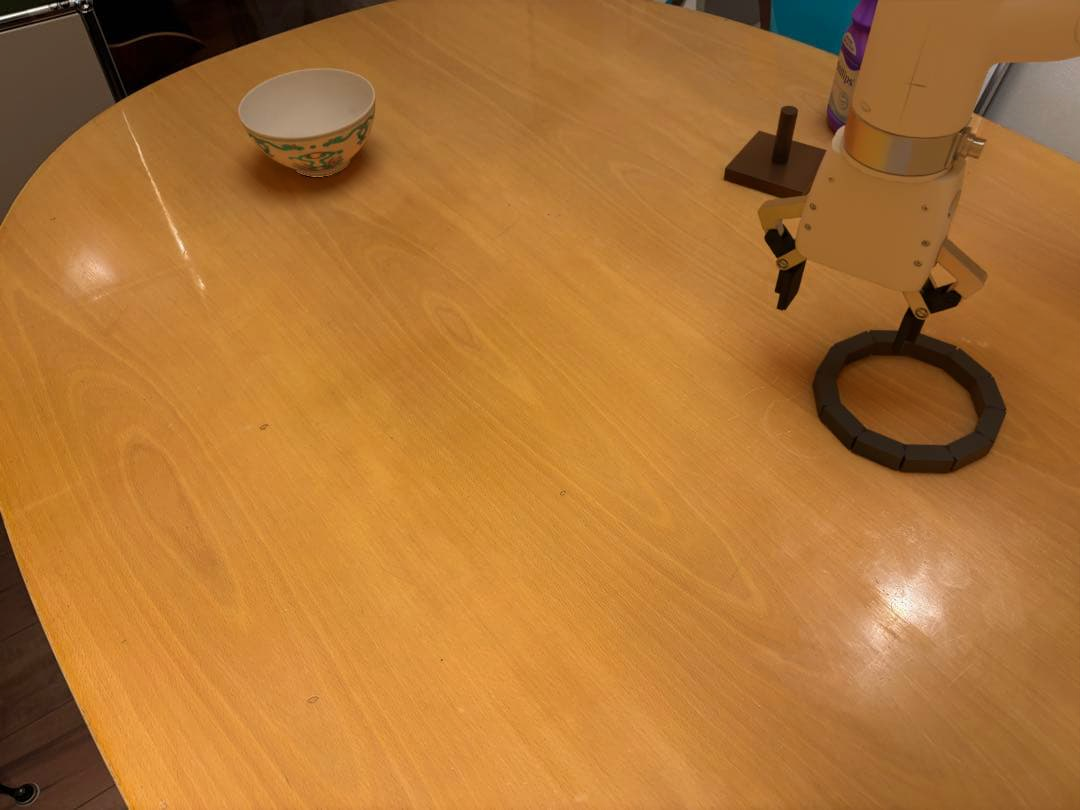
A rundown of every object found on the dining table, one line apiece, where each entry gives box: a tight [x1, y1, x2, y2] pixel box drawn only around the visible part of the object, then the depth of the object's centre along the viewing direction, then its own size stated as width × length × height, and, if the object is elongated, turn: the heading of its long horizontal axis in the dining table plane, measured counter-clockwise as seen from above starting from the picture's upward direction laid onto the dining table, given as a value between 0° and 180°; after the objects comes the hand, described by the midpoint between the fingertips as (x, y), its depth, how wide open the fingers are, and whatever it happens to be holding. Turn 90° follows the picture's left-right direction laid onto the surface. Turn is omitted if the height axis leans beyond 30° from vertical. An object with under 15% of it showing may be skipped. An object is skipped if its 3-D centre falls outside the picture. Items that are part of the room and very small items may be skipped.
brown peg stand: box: [723, 105, 827, 199], centre depth 95 cm, size 9×9×8 cm
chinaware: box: [237, 67, 376, 177], centre depth 99 cm, size 15×15×8 cm
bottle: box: [826, 0, 878, 133], centre depth 97 cm, size 7×6×17 cm
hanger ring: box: [811, 329, 1008, 474], centre depth 73 cm, size 15×15×2 cm
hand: (842, 321), depth 72 cm, fingers open, 9 cm apart
